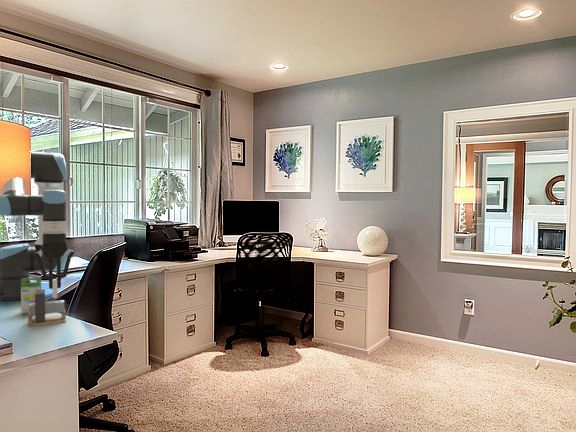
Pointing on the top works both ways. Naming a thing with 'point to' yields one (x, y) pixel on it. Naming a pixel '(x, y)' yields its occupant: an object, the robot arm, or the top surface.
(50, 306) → the pipe
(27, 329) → the top surface
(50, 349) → the top surface
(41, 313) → the grey upright block
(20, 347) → the top surface
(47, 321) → the board
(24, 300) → the ink box
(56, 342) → the top surface
